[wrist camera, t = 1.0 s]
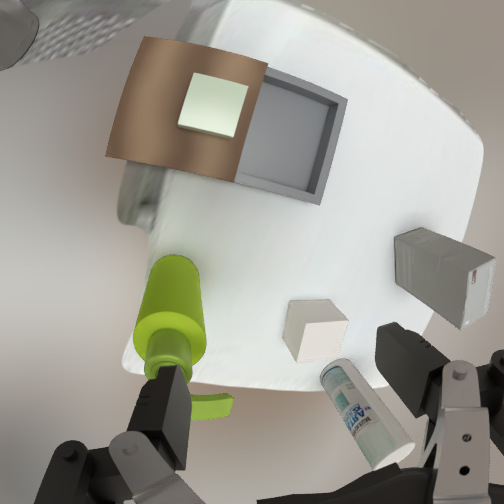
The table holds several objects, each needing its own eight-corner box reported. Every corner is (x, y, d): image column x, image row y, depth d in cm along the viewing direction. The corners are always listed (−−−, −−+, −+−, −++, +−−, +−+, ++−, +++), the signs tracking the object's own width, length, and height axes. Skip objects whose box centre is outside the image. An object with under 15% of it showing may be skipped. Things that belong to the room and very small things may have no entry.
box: (228, 179, 31) (232, 181, 28) (258, 74, 27) (265, 66, 25) (309, 201, 33) (319, 205, 31) (335, 103, 30) (347, 99, 27)
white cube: (289, 300, 37) (305, 323, 32) (328, 298, 39) (349, 319, 33) (282, 337, 39) (296, 363, 33) (319, 334, 40) (337, 358, 35)
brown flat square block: (115, 156, 27) (105, 156, 23) (148, 49, 24) (144, 36, 20) (228, 179, 31) (233, 182, 27) (258, 74, 27) (268, 63, 24)
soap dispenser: (204, 303, 35) (226, 437, 16) (149, 297, 33) (123, 430, 14) (211, 259, 33) (241, 379, 14) (152, 251, 31) (114, 368, 13)
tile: (178, 127, 24) (177, 123, 22) (193, 80, 23) (194, 72, 21) (229, 139, 25) (233, 137, 23) (243, 92, 24) (248, 86, 22)
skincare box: (421, 271, 41) (490, 312, 27) (390, 285, 40) (460, 336, 26) (422, 223, 38) (501, 255, 24) (389, 234, 38) (472, 274, 23)
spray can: (342, 385, 46) (397, 465, 27) (313, 386, 44) (365, 477, 25) (358, 357, 44) (423, 438, 25) (328, 357, 42) (392, 449, 24)
